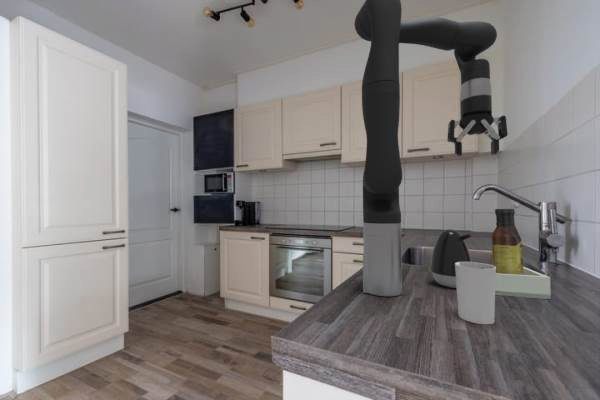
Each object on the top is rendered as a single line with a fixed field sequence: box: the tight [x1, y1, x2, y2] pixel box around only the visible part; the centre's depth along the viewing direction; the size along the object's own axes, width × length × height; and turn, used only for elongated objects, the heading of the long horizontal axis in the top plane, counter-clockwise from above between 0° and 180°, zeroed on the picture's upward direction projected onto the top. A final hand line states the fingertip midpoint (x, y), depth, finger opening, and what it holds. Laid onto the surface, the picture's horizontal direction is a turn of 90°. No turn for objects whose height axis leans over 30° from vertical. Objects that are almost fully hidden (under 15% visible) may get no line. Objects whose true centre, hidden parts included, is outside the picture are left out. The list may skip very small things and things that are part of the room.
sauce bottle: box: [491, 208, 524, 275], centre depth 70 cm, size 6×6×20 cm
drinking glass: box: [455, 261, 496, 325], centre depth 52 cm, size 7×7×10 cm
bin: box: [495, 266, 552, 300], centre depth 69 cm, size 12×12×5 cm
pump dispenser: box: [429, 228, 473, 289], centre depth 73 cm, size 10×10×15 cm
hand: (476, 155), depth 77 cm, fingers open, 8 cm apart
